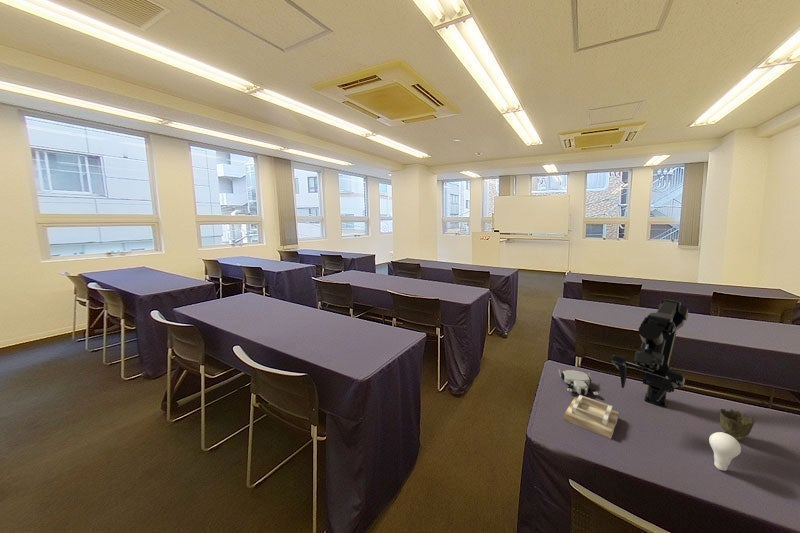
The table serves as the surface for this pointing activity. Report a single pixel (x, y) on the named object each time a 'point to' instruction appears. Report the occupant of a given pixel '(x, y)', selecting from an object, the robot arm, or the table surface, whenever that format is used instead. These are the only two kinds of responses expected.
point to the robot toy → (578, 381)
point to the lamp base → (592, 416)
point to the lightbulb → (724, 449)
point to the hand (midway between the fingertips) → (639, 394)
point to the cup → (735, 423)
